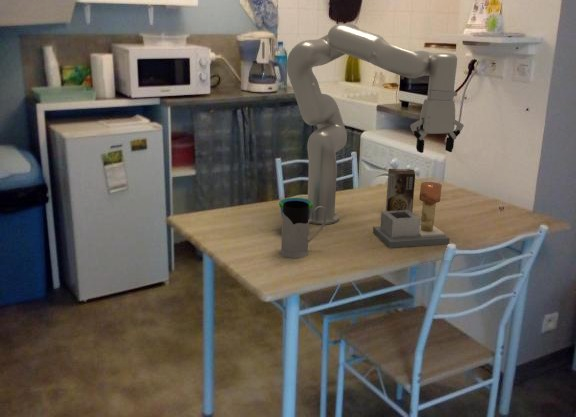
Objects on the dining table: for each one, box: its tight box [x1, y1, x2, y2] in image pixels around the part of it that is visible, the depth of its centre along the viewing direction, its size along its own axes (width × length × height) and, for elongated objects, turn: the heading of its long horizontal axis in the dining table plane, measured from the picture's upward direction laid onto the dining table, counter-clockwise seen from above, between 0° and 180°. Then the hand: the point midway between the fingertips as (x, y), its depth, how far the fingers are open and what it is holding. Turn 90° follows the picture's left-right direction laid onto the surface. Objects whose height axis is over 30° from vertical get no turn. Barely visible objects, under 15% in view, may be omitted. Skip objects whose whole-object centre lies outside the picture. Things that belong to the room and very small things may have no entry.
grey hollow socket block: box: [379, 210, 421, 239], centre depth 196 cm, size 9×9×6 cm
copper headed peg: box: [419, 181, 443, 232], centre depth 197 cm, size 6×6×15 cm
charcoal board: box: [372, 223, 451, 249], centre depth 198 cm, size 20×14×2 cm
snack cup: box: [278, 197, 313, 220], centre depth 200 cm, size 16×10×10 cm
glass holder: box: [279, 201, 327, 259], centre depth 183 cm, size 9×14×15 cm, turn 111°
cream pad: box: [419, 225, 446, 237], centre depth 199 cm, size 8×9×1 cm
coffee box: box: [385, 168, 416, 213], centre depth 219 cm, size 9×6×16 cm
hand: (434, 151), depth 191 cm, fingers open, 9 cm apart
